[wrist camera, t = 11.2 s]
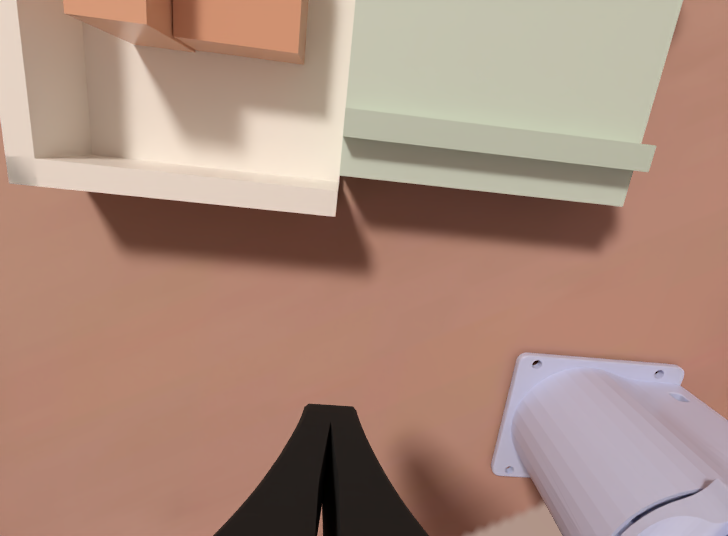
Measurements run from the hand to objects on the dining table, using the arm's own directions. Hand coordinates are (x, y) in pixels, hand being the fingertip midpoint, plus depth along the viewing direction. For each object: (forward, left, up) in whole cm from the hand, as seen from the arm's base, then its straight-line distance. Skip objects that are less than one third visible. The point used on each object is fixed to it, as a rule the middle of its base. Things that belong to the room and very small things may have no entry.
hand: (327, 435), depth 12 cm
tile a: (+5, -13, -10) cm, 17 cm away
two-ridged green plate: (-6, -13, -10) cm, 18 cm away
